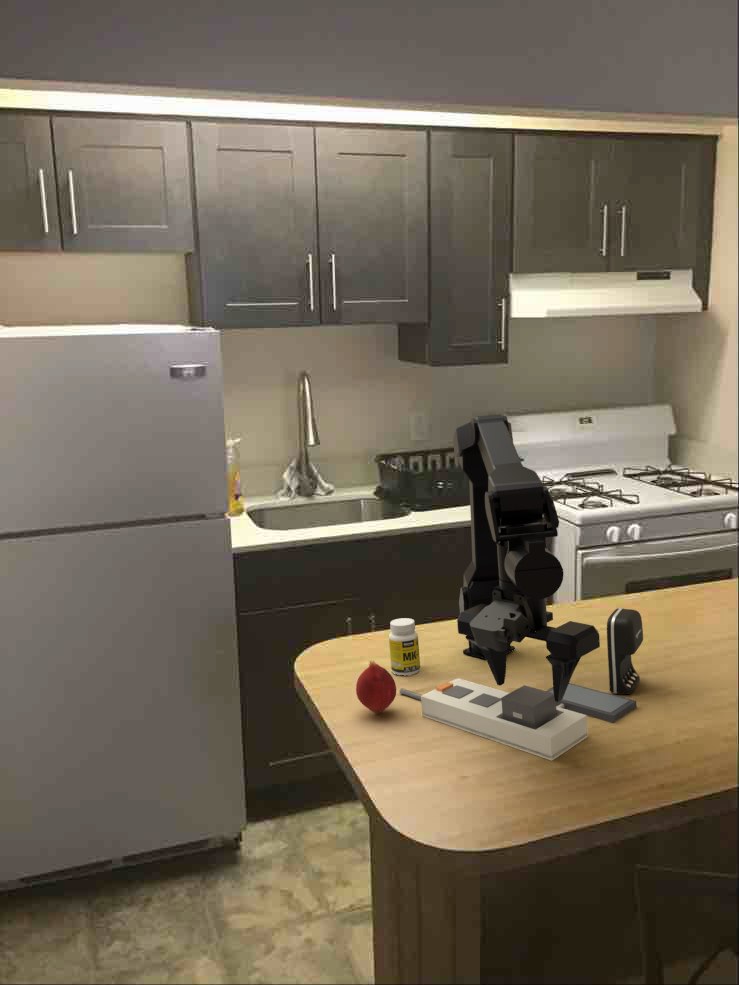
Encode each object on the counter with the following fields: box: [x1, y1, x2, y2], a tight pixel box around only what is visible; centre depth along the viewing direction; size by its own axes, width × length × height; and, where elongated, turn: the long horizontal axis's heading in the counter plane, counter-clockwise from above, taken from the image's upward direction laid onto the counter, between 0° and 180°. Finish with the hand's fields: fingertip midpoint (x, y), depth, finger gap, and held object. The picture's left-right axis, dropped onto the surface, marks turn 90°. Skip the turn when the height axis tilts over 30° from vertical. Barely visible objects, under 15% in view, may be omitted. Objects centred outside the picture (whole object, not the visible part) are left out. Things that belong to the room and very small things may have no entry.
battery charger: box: [606, 607, 644, 695], centre depth 122 cm, size 7×4×11 cm, turn 150°
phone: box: [546, 682, 637, 724], centre depth 116 cm, size 12×12×1 cm
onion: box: [355, 659, 397, 715], centre depth 121 cm, size 6×6×8 cm
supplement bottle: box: [388, 617, 421, 677], centre depth 137 cm, size 5×5×8 cm
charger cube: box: [501, 684, 557, 730], centre depth 110 cm, size 5×5×5 cm
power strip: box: [399, 677, 588, 761], centre depth 117 cm, size 30×8×3 cm, turn 43°
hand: (528, 692), depth 110 cm, fingers open, 9 cm apart
